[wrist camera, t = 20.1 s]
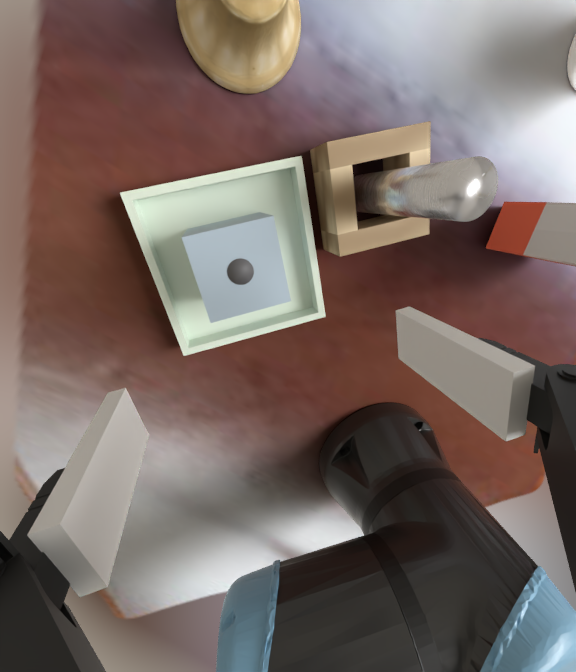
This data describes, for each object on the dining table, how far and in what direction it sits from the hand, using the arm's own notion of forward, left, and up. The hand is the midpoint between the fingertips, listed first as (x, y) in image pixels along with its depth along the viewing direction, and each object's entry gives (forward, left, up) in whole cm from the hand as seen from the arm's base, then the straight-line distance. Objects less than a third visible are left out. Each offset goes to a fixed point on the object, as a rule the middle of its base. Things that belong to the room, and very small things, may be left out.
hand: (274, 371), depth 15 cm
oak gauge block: (+6, -12, -15) cm, 20 cm away
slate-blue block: (+3, 0, -15) cm, 15 cm away
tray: (+3, 0, -15) cm, 15 cm away
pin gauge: (+6, -12, -15) cm, 20 cm away
